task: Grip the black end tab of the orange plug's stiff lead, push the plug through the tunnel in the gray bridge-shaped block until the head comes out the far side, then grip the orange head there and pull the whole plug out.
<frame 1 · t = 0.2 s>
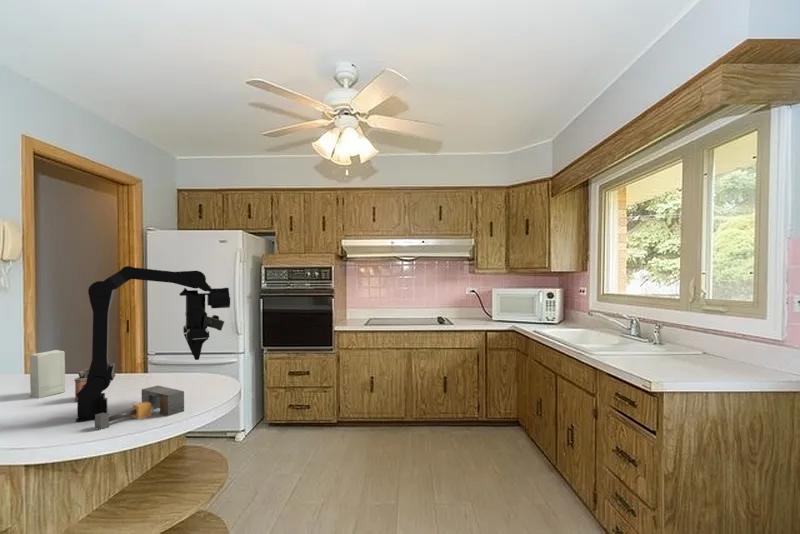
hand: (195, 357, 136), 14 cm above the countertop, tool pointing down, fingers open, 9 cm apart
skincare box: (47, 395, 147), on the countertop
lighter: (87, 399, 142), on the countertop
plug: (125, 420, 119), on the countertop
gray bridge-shaped block: (162, 409, 128), on the countertop
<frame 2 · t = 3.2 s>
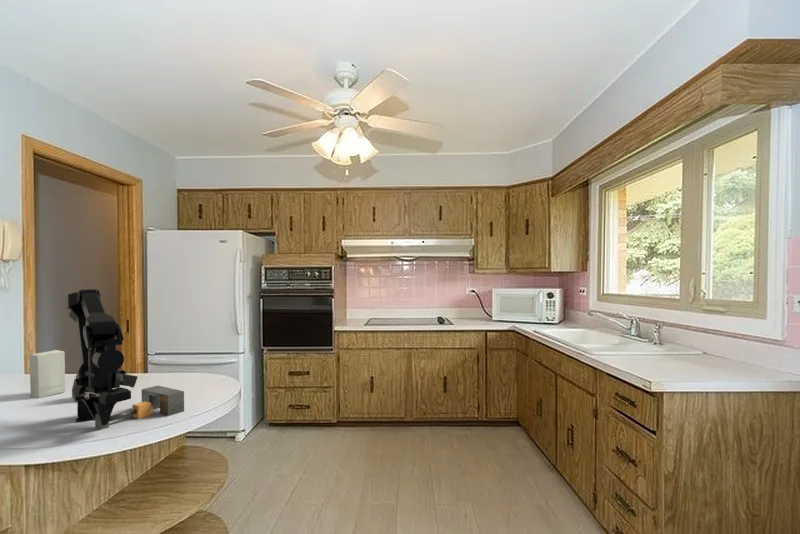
hand: (102, 423, 114), 1 cm above the countertop, tool pointing down, fingers closed on plug, 3 cm apart
plug: (125, 420, 119), on the countertop, touching gripper
everything else where it was.
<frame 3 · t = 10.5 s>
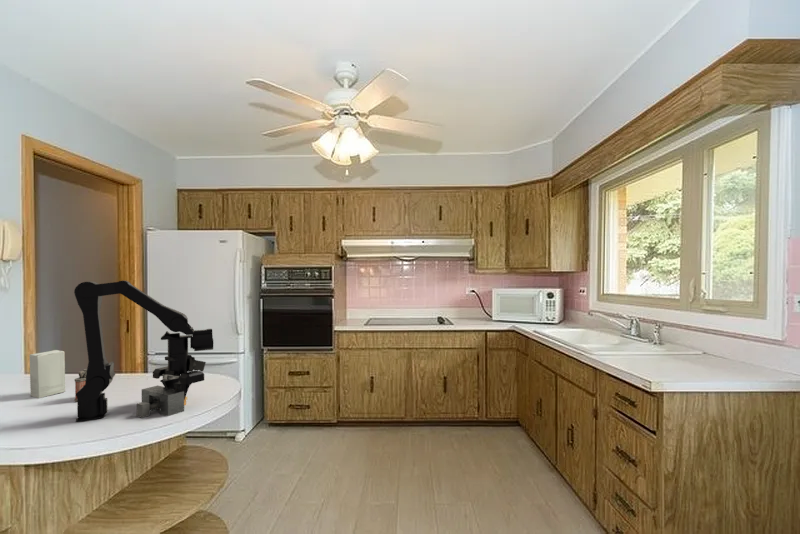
hand: (178, 402, 133), 1 cm above the countertop, tool pointing down, fingers closed on plug, 3 cm apart
plug: (163, 409, 129), on the countertop, touching gripper
everything else where it was.
when the fingers open (1 cm above the countertop, at t = 13.7 s): plug stays where it is, on the countertop.
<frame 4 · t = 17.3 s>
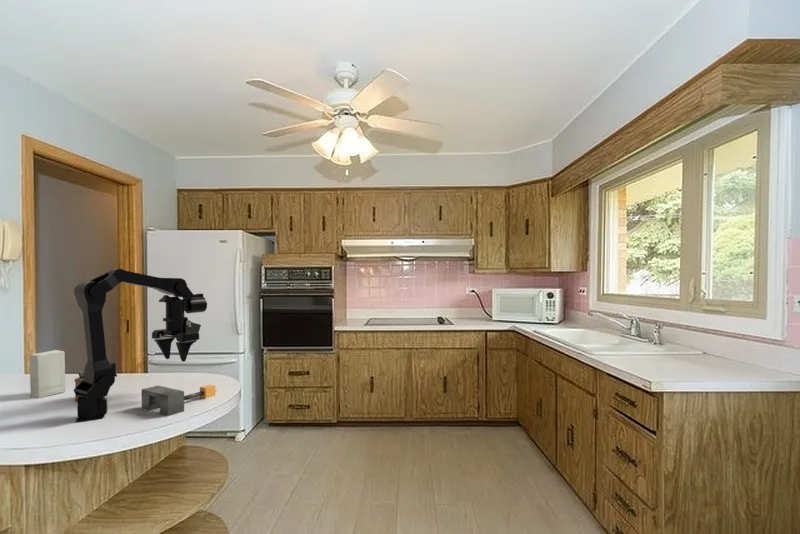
hand: (175, 360, 144), 12 cm above the countertop, tool pointing down, fingers open, 9 cm apart
plug: (195, 400, 138), on the countertop
everything else where it was.
at the end: plug inside the target area (2.6 cm from its centre), on the countertop; the gripper is holding nothing; plug tilted 0° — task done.
